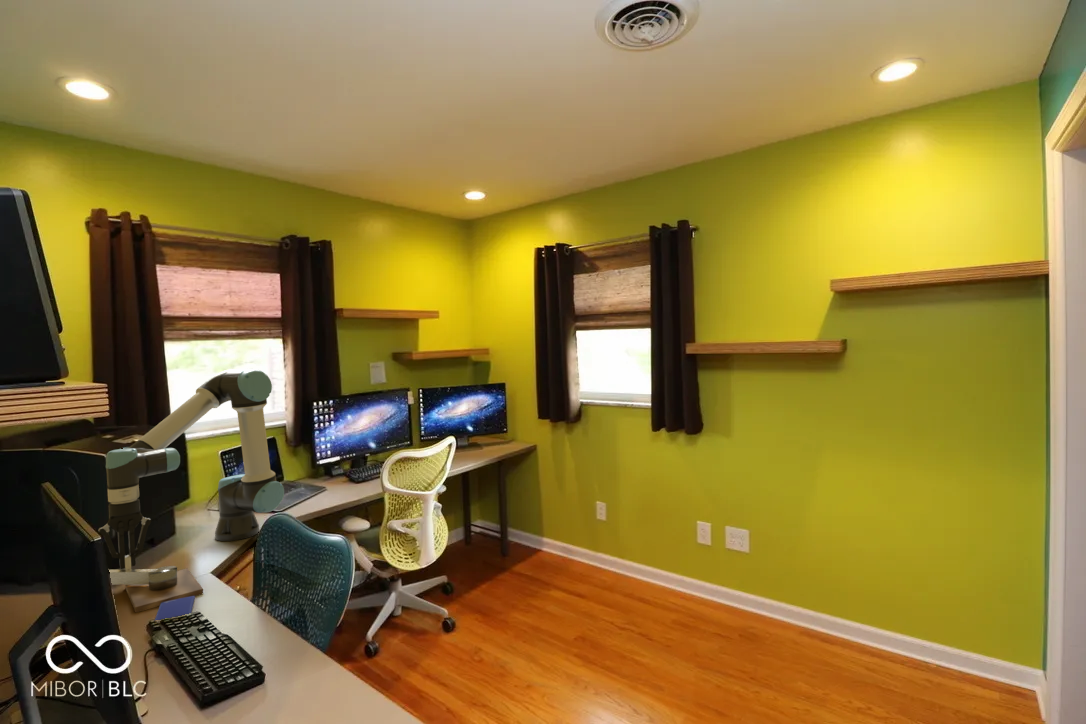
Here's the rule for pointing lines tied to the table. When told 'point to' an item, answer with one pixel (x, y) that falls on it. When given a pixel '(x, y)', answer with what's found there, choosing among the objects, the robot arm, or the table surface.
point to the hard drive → (175, 608)
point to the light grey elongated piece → (146, 577)
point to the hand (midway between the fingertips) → (128, 577)
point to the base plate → (163, 591)
